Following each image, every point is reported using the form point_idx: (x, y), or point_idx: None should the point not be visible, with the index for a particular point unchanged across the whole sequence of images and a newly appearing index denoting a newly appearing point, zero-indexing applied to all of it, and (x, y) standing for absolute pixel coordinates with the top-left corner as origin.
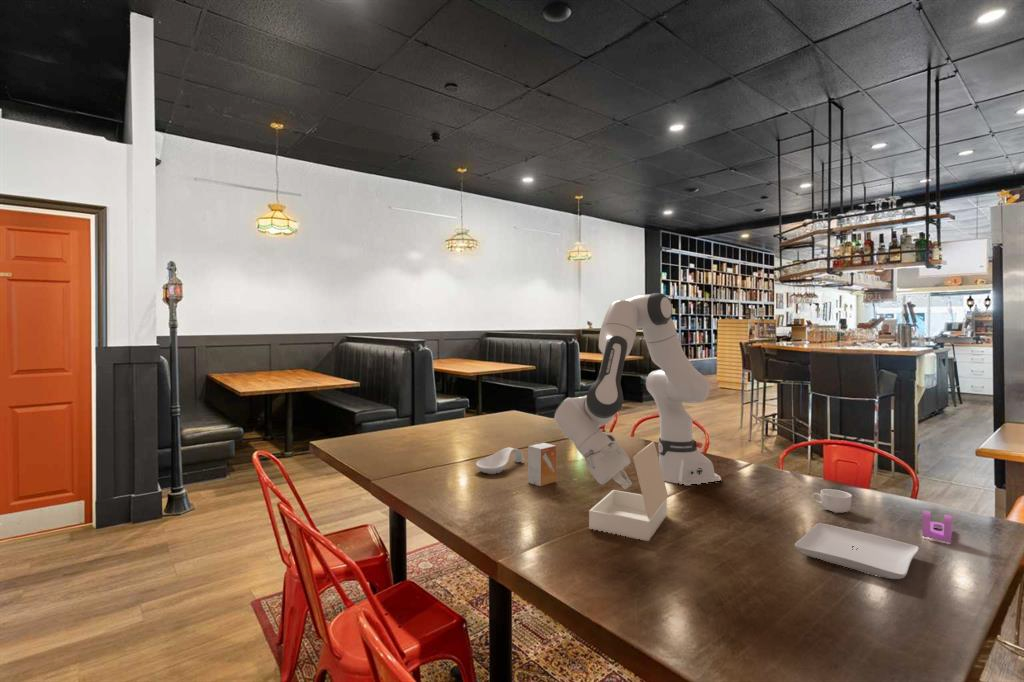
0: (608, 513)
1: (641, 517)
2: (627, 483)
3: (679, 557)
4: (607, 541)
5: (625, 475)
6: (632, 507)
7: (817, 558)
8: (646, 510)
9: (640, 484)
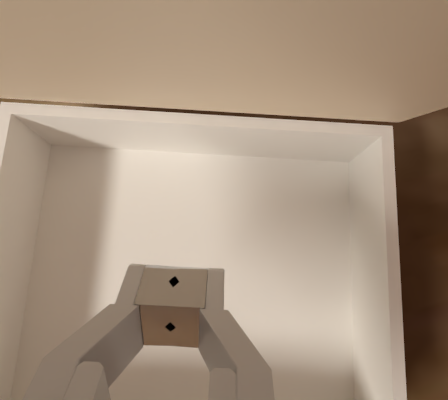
0: (392, 347)
1: (135, 228)
2: (218, 283)
3: None
4: (439, 304)
5: (104, 339)
6: (23, 297)
7: None
8: (426, 112)
9: None
